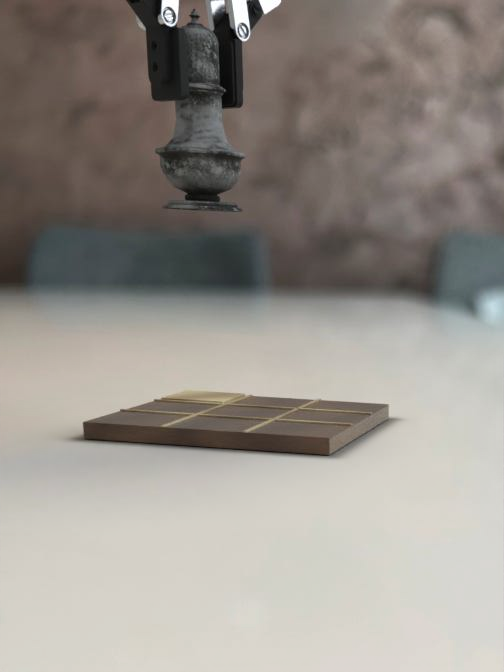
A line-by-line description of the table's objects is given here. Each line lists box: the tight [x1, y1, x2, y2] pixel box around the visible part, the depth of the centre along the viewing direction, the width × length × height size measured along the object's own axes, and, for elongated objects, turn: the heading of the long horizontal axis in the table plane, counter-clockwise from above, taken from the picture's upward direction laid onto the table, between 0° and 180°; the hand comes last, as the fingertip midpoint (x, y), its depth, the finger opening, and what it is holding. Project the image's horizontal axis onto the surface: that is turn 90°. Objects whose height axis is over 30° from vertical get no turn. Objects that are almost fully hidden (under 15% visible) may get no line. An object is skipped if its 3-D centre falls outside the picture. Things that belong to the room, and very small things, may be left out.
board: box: [82, 389, 390, 456], centre depth 85 cm, size 18×18×1 cm
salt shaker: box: [154, 8, 247, 213], centre depth 73 cm, size 6×6×12 cm
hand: (197, 101), depth 72 cm, fingers closed on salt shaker, 3 cm apart
